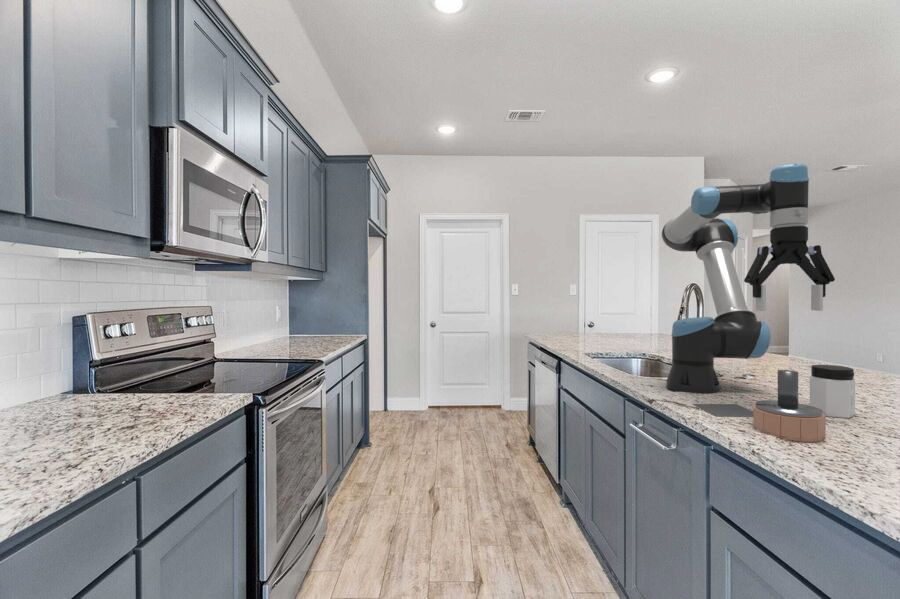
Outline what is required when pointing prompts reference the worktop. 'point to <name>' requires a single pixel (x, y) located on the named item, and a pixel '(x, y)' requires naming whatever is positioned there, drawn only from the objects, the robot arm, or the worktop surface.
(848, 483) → the worktop surface
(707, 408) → the mat
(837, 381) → the jar
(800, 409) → the lid
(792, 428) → the bowl
